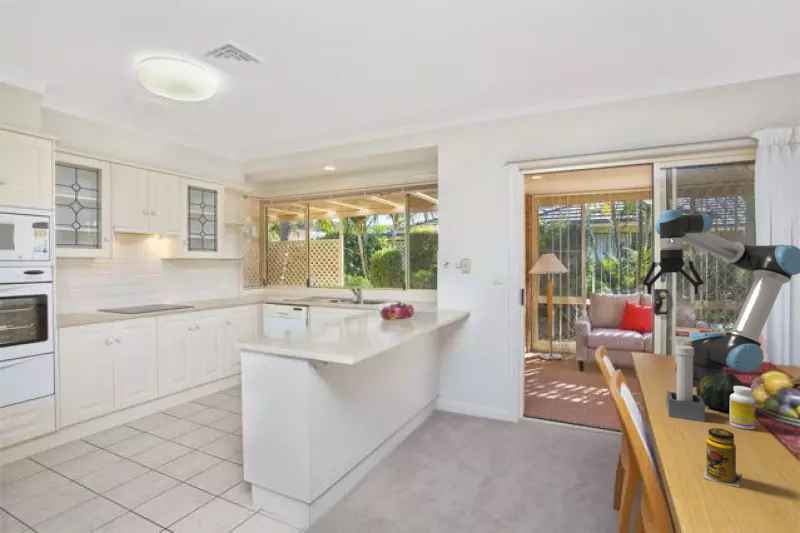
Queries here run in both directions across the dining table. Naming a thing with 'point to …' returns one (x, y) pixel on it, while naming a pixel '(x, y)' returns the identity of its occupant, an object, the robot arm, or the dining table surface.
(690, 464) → the dining table surface
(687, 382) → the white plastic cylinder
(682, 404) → the collar
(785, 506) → the dining table surface
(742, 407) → the supplement bottle
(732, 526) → the dining table surface
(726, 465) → the condiment
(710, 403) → the squash
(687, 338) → the cracker box
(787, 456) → the dining table surface
